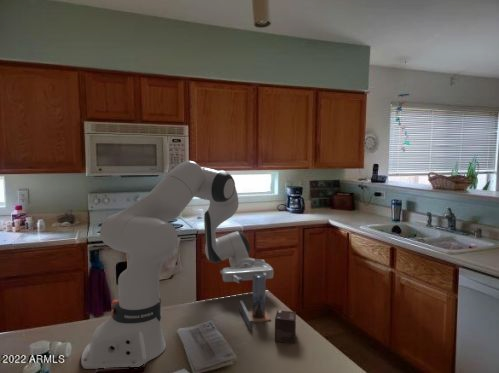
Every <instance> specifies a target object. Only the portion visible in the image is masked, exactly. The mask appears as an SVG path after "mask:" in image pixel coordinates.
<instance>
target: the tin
mask: <svg viewBox="0 0 499 373" xmlns="http://www.w3.org/2000/svg"><path fill="white" fill-rule="evenodd" d="M266 281H267V279H266V276H265V275H262V274H256V275H253V280H252V302H251V303H252V305H251V306H252V307H251V308H252V309H251V312H252V316H253V317H254V318H258V319H260V318H264V317H265V310H266V290H267V289H266V284H267V282H266Z"/></svg>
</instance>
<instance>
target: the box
mask: <svg viewBox="0 0 499 373" xmlns="http://www.w3.org/2000/svg"><path fill="white" fill-rule="evenodd" d="M296 318H297V312H296V311H291V310H289V311H288V310H276V313H275V318H274V342H278V343H287V344H288V343H289V344H295V341H296V331H297V329H296V328H297V327H296V326H297V325H296V321H297V319H296Z"/></svg>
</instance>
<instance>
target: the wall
mask: <svg viewBox="0 0 499 373" xmlns="http://www.w3.org/2000/svg"><path fill="white" fill-rule="evenodd" d="M239 310H240V312H241V315H242V317H243V319H244V321H245V324H246V325H247V327H248V329H249V331H251V330H253V326H254V324H253V320H252V318H251V316H250V315H249V313H248V312H249V311H248V308H247V307H246V305H245V303H244V301H243V300H239Z"/></svg>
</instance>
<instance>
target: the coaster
mask: <svg viewBox="0 0 499 373" xmlns="http://www.w3.org/2000/svg"><path fill="white" fill-rule="evenodd" d="M248 313H249V315H250V316H251V318H252V320H253V323H262V322H272V319H271V317H270V315H269V314H268V312H267V311H266V309H265V317H264V318H260V319H258V318H254V317H253V316H252V311H248Z"/></svg>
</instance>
